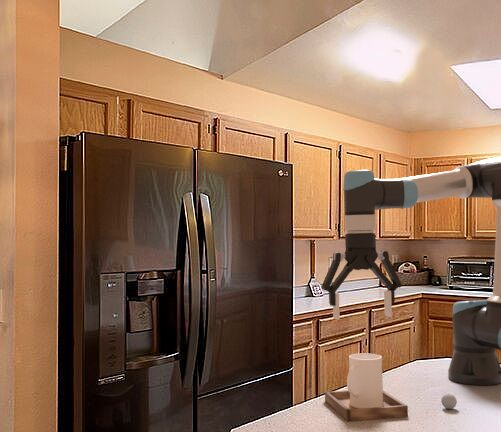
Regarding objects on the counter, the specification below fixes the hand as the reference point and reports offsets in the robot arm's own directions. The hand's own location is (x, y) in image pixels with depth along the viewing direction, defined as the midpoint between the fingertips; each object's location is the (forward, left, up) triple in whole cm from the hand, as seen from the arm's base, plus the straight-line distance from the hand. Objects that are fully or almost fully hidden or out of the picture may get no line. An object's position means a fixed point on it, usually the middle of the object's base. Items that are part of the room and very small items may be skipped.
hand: (362, 317), depth 151 cm
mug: (+1, 0, -22) cm, 22 cm away
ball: (-20, +5, -23) cm, 30 cm away
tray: (0, 0, -22) cm, 22 cm away
